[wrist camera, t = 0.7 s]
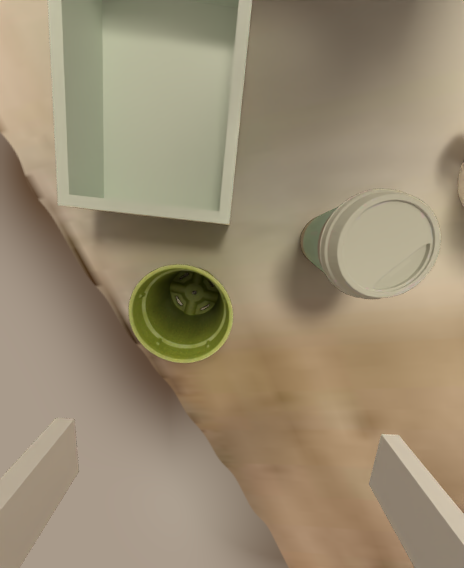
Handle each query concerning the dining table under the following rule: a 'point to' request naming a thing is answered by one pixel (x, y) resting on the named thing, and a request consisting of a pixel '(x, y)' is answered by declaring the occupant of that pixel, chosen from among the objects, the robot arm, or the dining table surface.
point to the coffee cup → (374, 243)
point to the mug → (461, 184)
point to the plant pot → (180, 313)
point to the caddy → (148, 104)
